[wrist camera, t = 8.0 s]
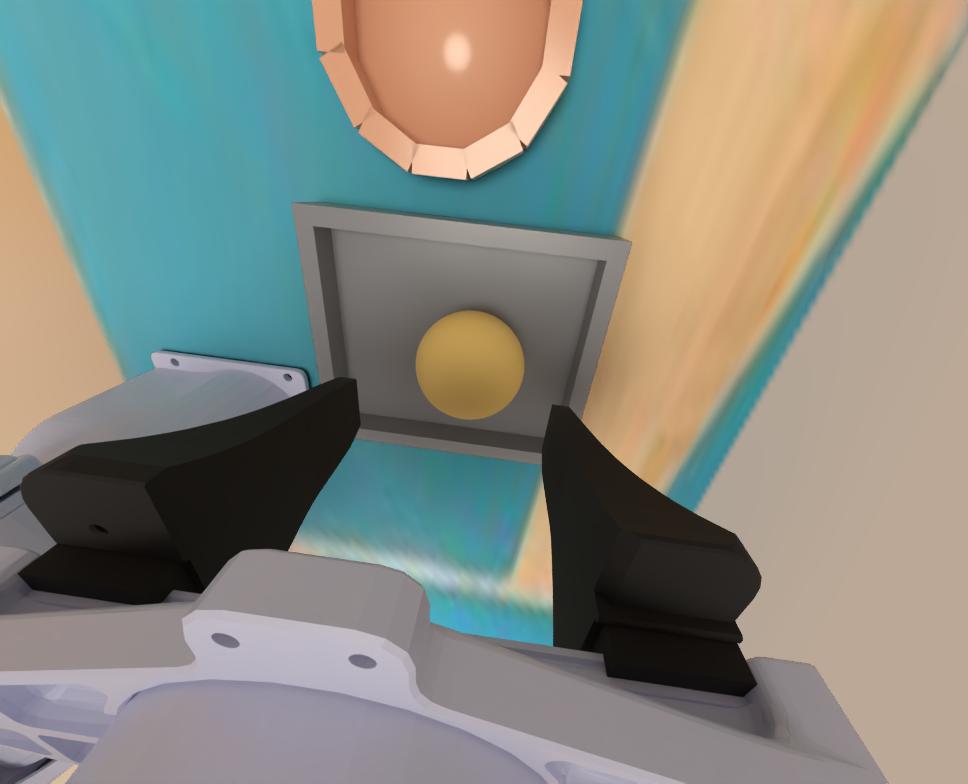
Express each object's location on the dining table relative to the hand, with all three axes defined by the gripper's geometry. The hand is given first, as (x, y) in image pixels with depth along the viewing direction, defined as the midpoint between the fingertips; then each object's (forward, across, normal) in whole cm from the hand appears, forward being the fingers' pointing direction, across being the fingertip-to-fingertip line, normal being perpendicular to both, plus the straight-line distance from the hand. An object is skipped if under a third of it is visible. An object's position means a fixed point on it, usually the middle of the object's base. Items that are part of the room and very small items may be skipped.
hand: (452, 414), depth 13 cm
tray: (+7, +1, 0) cm, 7 cm away
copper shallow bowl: (+7, +2, -12) cm, 14 cm away
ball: (+6, 0, 0) cm, 6 cm away
